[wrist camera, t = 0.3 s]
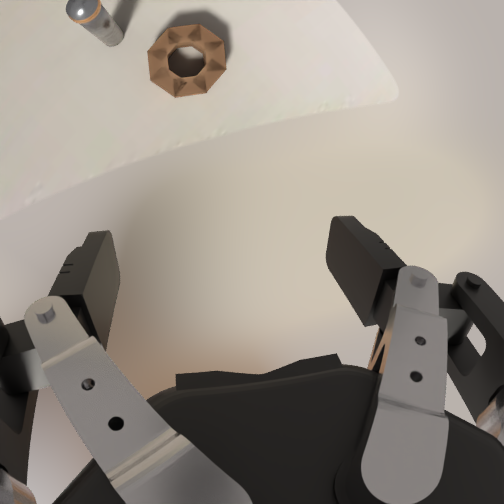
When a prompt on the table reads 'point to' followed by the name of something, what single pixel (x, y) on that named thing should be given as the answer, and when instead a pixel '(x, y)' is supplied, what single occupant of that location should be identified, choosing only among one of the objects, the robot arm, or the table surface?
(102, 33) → the banded metal pin
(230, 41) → the table surface
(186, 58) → the table surface
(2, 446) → the robot arm
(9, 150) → the table surface
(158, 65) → the bead
